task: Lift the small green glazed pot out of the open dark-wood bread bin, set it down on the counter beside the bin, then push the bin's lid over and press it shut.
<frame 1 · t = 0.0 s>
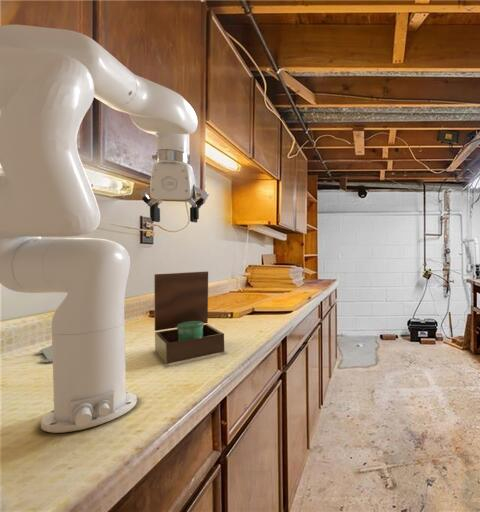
hand: (175, 221, 88), 37 cm above the countertop, tool pointing down, fingers open, 9 cm apart
metal bracket: (75, 352, 91), on the countertop
bread bin: (189, 353, 89), on the countertop
pot: (190, 351, 88), point 1 cm above the countertop, touching bread bin
bin lid: (182, 299, 94), point 14 cm above the countertop, hinge at 85.0°
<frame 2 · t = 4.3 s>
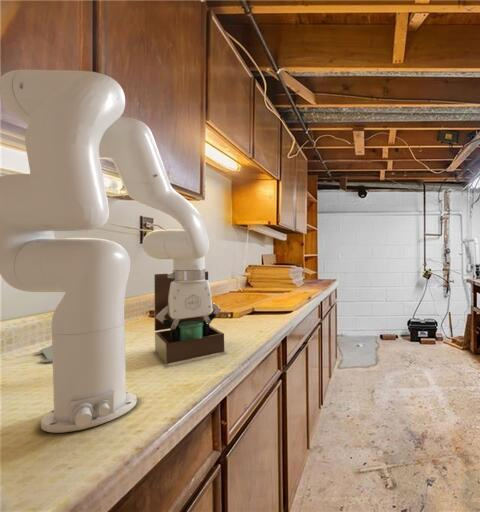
hand: (190, 339, 88), 4 cm above the countertop, tool pointing down, fingers closed on pot, 6 cm apart
pot: (190, 351, 88), point 1 cm above the countertop, touching bread bin, gripper
everything else where it was.
when the fingers open (3 cm above the countertop, at t = 11.6 s): pot stays where it is, on the countertop.
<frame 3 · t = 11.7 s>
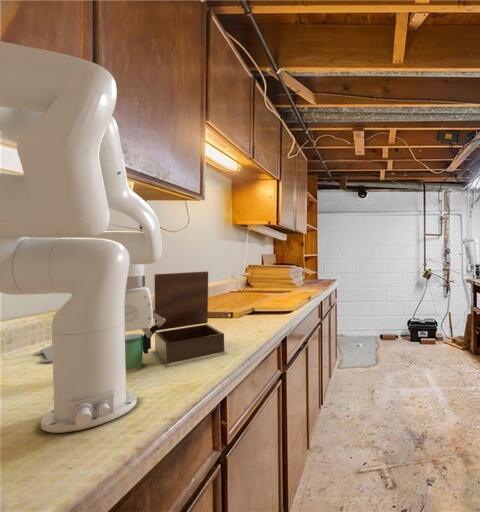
hand: (127, 355, 77), 3 cm above the countertop, tool pointing down, fingers open, 6 cm apart
pot: (127, 369, 77), on the countertop
everything else where it was.
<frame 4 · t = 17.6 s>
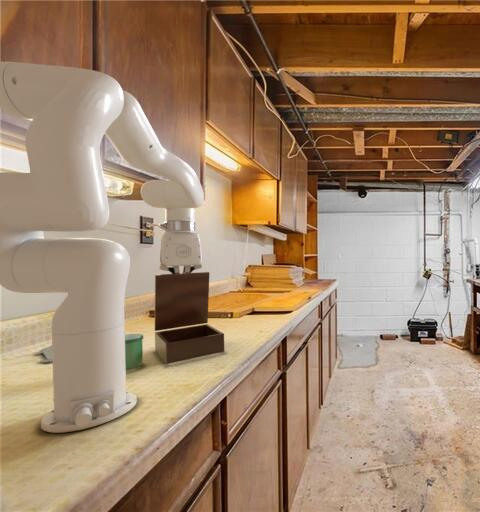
hand: (181, 288, 94), 18 cm above the countertop, tool pointing down, fingers closed
bin lid: (183, 300, 93), point 14 cm above the countertop, hinge at 80.6°, touching gripper
everything else where it was.
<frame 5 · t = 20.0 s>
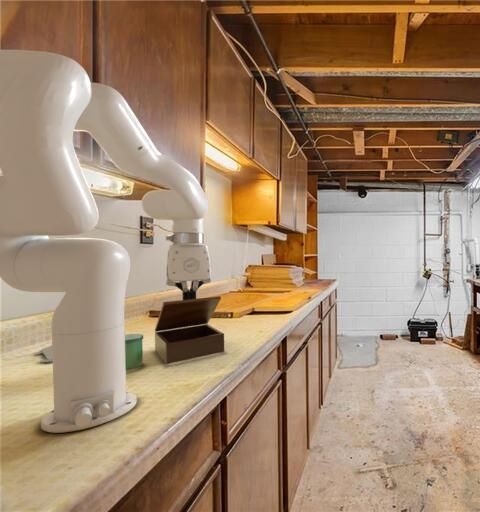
hand: (189, 305, 88), 14 cm above the countertop, tool pointing down, fingers closed
bin lid: (187, 314, 90), point 11 cm above the countertop, hinge at 35.6°, touching gripper
everything else where it was.
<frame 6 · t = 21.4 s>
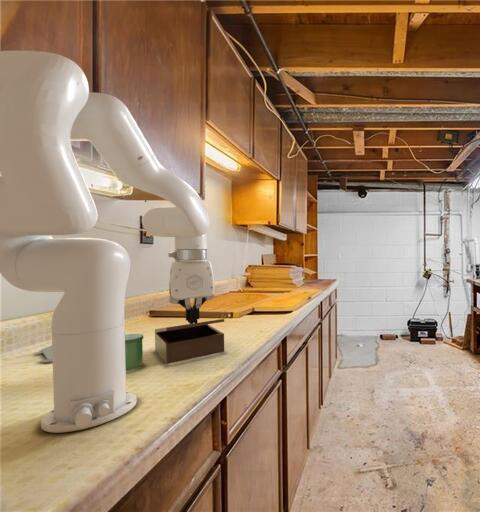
hand: (192, 322, 86), 9 cm above the countertop, tool pointing down, fingers closed
bin lid: (189, 325, 89), point 8 cm above the countertop, hinge at 12.0°, touching gripper
everything else where it was.
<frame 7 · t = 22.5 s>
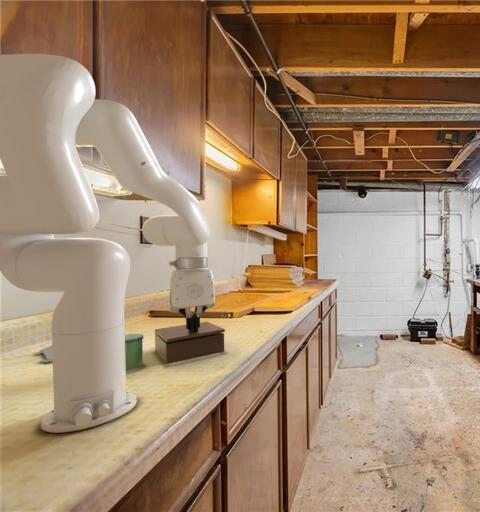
hand: (193, 331, 86), 7 cm above the countertop, tool pointing down, fingers closed
bin lid: (189, 330, 89), point 7 cm above the countertop, hinge at 2.0°, touching gripper
everything else where it was.
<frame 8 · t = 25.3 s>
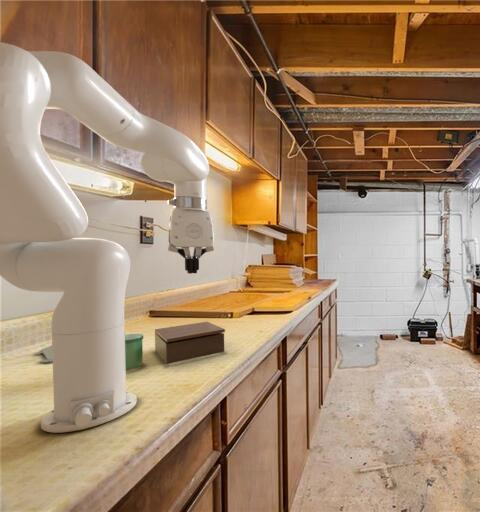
hand: (192, 273, 86), 23 cm above the countertop, tool pointing down, fingers closed
bin lid: (189, 330, 89), point 7 cm above the countertop, hinge at 1.9°
everything else where it was.
at the end: pot inside the target area (0.3 cm from its centre), on the countertop; pot tilted 0°; bin lid at +2° (first picture: +85°) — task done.
